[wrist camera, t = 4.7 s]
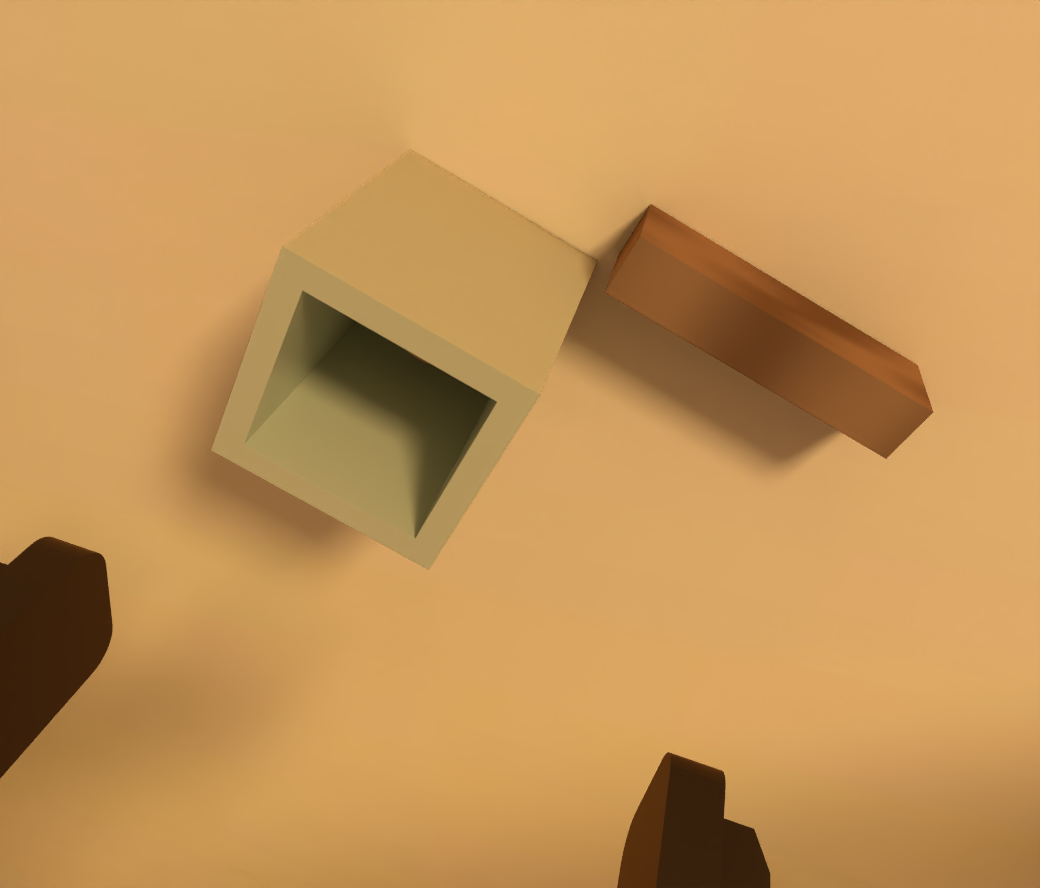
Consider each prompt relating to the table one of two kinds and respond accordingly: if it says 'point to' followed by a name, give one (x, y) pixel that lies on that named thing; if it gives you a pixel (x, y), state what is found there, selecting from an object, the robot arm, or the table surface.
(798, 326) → the walnut bar
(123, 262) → the table surface
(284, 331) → the celadon pot
